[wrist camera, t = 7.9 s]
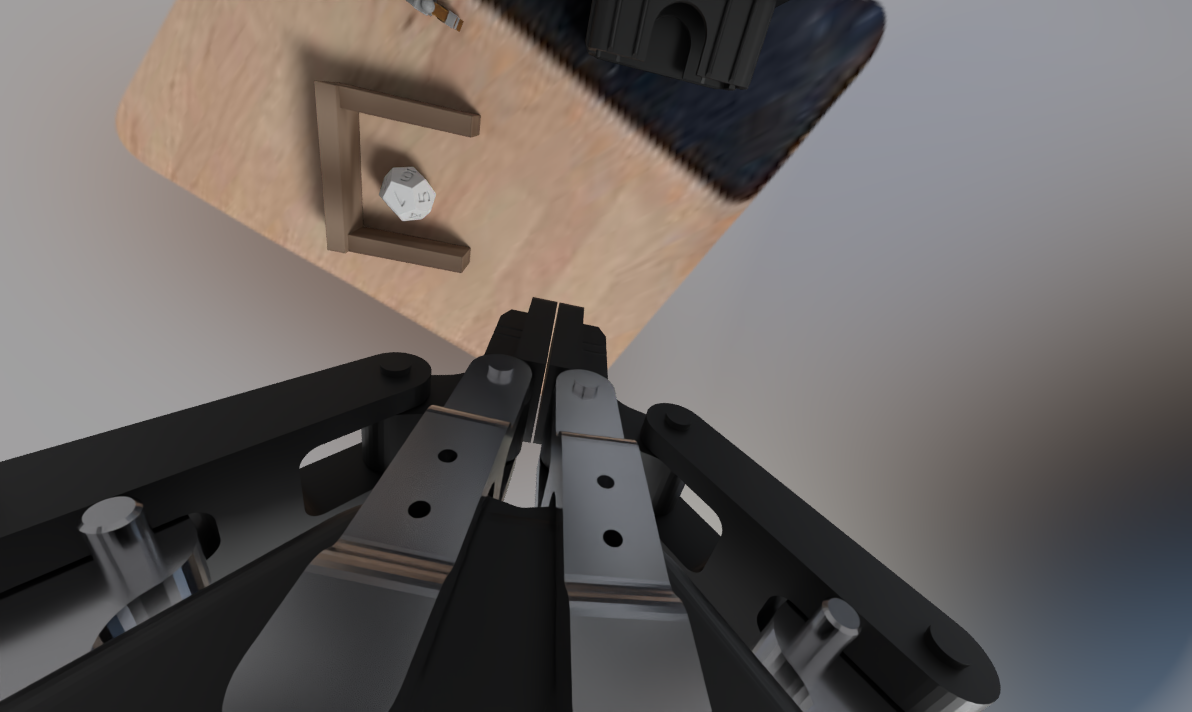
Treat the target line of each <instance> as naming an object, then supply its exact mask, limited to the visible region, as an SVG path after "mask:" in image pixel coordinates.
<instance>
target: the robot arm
mask: <svg viewBox="0 0 1192 712" xmlns="http://www.w3.org/2000/svg"><path fill="white" fill-rule="evenodd" d="M556 308H557V302H555V301H550V300H545V299H540V298H535V297H533V298H532V302H531V305H530V308H529V311H528V313H526V312H522V311H517V310H512V309H511V310H510V311H508V312H506V313H505V314H503V315H501V317H500V319H499V321H498V324H497V327H496V328H495V331H494V334H493V335H492V338H491V340H490V342H489V345H488V347H487V350H486V352H485V354H484V355H483V356H480V357H478V358H476V359H474V360H473V361H472V362H471V364H470V365H469V367H468V368H467V370H466V372H465V373H461V374H455V375H431V367H430V365H429V364H428V363H427V362H426V361H425V360H424V359H422V358H420V357H418V356H415V355H412V354H407V353H399V352H392V353H382V354H378V355H374V356H371V357H367V358H364V359H360V360H357V361H353V362H350V363H347V364H343V365H339V366H336V367H332V368H329V369H325V370H322V371H318V372H315V373H311V374H308V375H304V376H300V377H297V378H293V379H290V380H286V381H283V382H280V383H276V384H272V385H269V386H265V387H262V388H258V389H255V390H251V391H248V392H245V393H241V394H237V395H234V396H230V397H227V398H223V399H220V400H216V401H213V402H209V403H206V404H202V405H199V406H195V407H192V408H188V409H185V410H181V411H178V412H174V413H171V414H167V415H164V416H160V417H156V418H153V419H150V420H146V421H142V422H139V423H135V424H132V425H129V426H125V427H121V428H118V429H114V430H111V431H107V432H104V433H100V434H97V435H93V436H90V437H86V438H83V439H79V440H76V441H72V442H69V443H65V444H62V445H58V446H55V447H51V448H47V449H44V450H40V451H37V452H34V453H30V454H26V455H23V456H20V457H16V458H12V459H9V460H5V461H2V462H0V712H981V711H983V710H984V709H985V708H986V707H988V706H989V705H991V704H992V703H993V702H995V701H996V700H997V699H998V698H999V695H1000V682H999V677H998V675H997V672H996V670H995V668H994V666H993V664H992V662H991V661H990V659H989V657H988V656H987V654H986V653H985V652H984V650H983V649H982V648H981V646H980V645H979V644H978V643H977V642H976V641H975V640H974V638H972V636H971V635H970V634H968V632H967V631H965V630H964V629H963V628H962V627H960V626H959V625H958V624H957V623H956V622H955V621H954V620H952V619H951V618H949V616H947V615H946V614H945V613H943V612H942V611H941V610H940V609H939V608H937V607H936V606H935V605H934V604H932V603H931V602H930V601H928V600H927V599H926V598H925V597H923V596H922V595H921V594H920V593H919V592H917V591H916V590H915V589H913V588H912V587H911V586H910V585H909V584H907V583H906V582H905V581H904V580H902V579H901V578H900V577H898V576H897V575H896V574H895V573H894V572H892V571H891V570H890V569H889V568H887V567H886V566H885V565H884V564H882V563H881V562H880V561H878V560H877V559H876V558H875V557H873V556H872V555H871V554H870V553H869V552H867V551H866V550H865V549H864V548H862V547H861V546H860V545H858V544H857V543H856V542H855V541H854V540H852V539H851V538H850V537H849V536H847V535H846V534H845V533H844V532H842V531H841V530H840V529H839V528H837V527H836V526H835V525H834V524H832V523H831V522H830V521H829V520H827V519H826V518H825V517H824V516H822V515H821V514H820V513H818V512H817V511H816V510H815V509H814V508H812V507H811V506H810V505H809V504H807V503H806V502H805V501H803V500H802V499H801V498H800V497H799V496H797V495H796V494H795V493H794V492H792V491H791V490H790V489H789V488H787V487H786V486H785V485H784V484H782V483H781V482H780V481H779V480H777V479H776V478H774V477H773V476H772V475H771V474H770V473H769V472H767V471H766V470H765V469H764V468H762V467H761V466H760V465H758V464H757V463H756V462H755V461H754V460H752V459H751V458H750V457H749V456H747V455H746V454H745V453H744V452H742V451H741V450H740V449H739V448H737V447H736V446H735V445H733V444H732V443H731V442H730V441H729V440H727V439H726V438H725V437H724V436H722V435H721V434H720V433H718V432H717V431H716V430H715V429H713V428H712V427H711V426H710V425H709V424H707V423H706V422H705V421H704V420H702V419H701V418H700V417H699V416H697V415H696V414H694V413H693V412H692V411H690V410H688V409H686V408H684V407H682V406H679V405H675V404H669V403H660V404H655V405H653V406H651V407H650V408H649V409H648V411H647V414H644V413H642V412H639V411H637V410H634V409H632V408H629V407H627V406H626V405H624V404H622V403H621V402H619V401H618V400H617V399H616V393H615V389H614V387H613V385H612V384H611V383H610V381H608V375H607V356H606V355H607V351H606V336H605V335H604V334H603V332H602V331H601V330H600V328H599V327H596V326H591V325H586V324H583V318H584V307H579V306H574V305H569V304H565V303H559V308H558V313H557V318H556V323H555V328H554V333H553V337H552V342H551V347H550V352H549V346H550V341H551V335H552V330H553V324H554V319H555V313H556ZM548 352H549V357H548ZM547 358H548V363H547ZM546 363H547V368H546ZM545 368H546V373H545ZM544 373H545V379H544V385H543V390H542V396H541V402H540V408H539V413H538V419H537V425H536V430H535V436H534V441H533V443H536V444H542V445H541V452H540V456H539V461H538V466H537V474H536V494H535V507H532V508H520V507H516V506H513V505H510V504H508V503H505V502H503V501H504V498H505V495H506V492H507V489H508V486H509V483H510V480H511V477H512V473H513V471H514V467H515V463H516V458H517V455H518V454H519V453H520V450H521V447H522V442H523V441H524V442H531V438H532V433H533V427H534V423H535V418H536V413H537V408H538V403H539V397H540V393H541V388H542V383H543V378H544ZM360 429H361V430H362V442H361V443H359V444H356V445H354V446H352V447H350V448H347V449H345V450H342V451H340V452H338V453H335V454H333V455H331V456H328V457H326V458H323V459H321V460H319V461H316V462H314V463H312V464H309V465H307V466H305V467H302V468H300V469H299V466H300V463H301V461H302V460H303V458H304V457H305V456H306V454H308V453H309V452H310V451H311V450H312V449H314V448H316V447H318V446H320V445H322V444H325V443H327V442H330V441H332V440H334V439H337V438H340V437H342V436H345V435H347V434H350V433H352V432H355V431H357V430H360ZM685 484H686V485H687V486H688V487H689V488H690V489H691V490H692V491H693V492H694V493H696V494H697V495H698V496H699V497H700V498H701V499H702V500H703V501H704V502H705V503H706V504H707V505H708V506H710V508H711V509H712V510H713V511H714V512H715V513H716V514H717V515H718V517H719V519H720V521H721V524H722V535H721V536H720V535H719V534H718V533H717V532H716V531H715V530H714V529H713V528H712V527H711V526H710V525H709V524H708V523H707V522H705V521H704V520H703V519H702V518H701V517H700V516H699V515H698V514H697V513H696V512H695V511H694V510H693V509H692V508H691V507H690V506H689V505H688V504H687V503H686V502H685V501H684V500H683V499H682V498H681V497H680V495H681V492H682V490H683V488H684V486H685Z"/></svg>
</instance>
